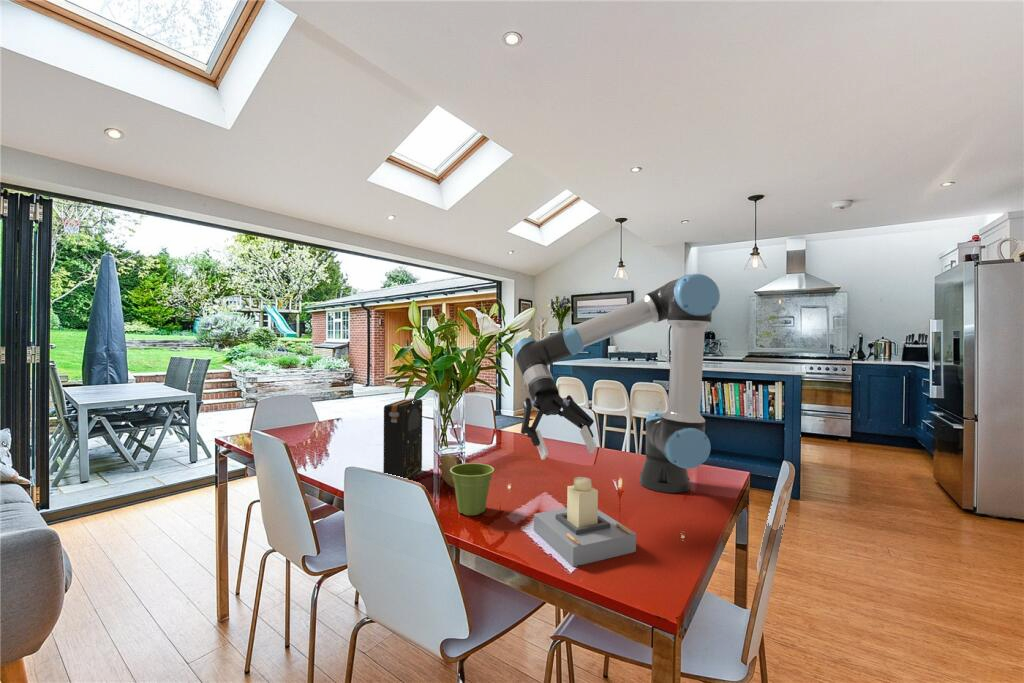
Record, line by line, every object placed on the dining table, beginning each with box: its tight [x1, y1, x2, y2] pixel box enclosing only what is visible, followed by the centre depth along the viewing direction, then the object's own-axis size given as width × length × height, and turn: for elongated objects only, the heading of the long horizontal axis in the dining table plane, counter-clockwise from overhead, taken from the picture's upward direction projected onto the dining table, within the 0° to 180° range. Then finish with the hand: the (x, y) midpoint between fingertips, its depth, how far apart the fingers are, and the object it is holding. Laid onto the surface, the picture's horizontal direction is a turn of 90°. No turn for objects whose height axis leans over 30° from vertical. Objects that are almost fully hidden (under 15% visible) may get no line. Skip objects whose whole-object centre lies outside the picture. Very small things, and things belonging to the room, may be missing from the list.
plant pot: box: [450, 462, 495, 517], centre depth 116 cm, size 12×12×11 cm
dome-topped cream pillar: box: [566, 476, 599, 528], centre depth 100 cm, size 5×5×10 cm
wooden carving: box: [438, 453, 464, 489], centre depth 135 cm, size 16×5×10 cm, turn 43°
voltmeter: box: [382, 398, 423, 480], centre depth 144 cm, size 16×9×25 cm, turn 168°
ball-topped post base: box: [533, 507, 637, 568], centre depth 100 cm, size 16×18×5 cm
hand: (570, 453), depth 105 cm, fingers open, 13 cm apart
